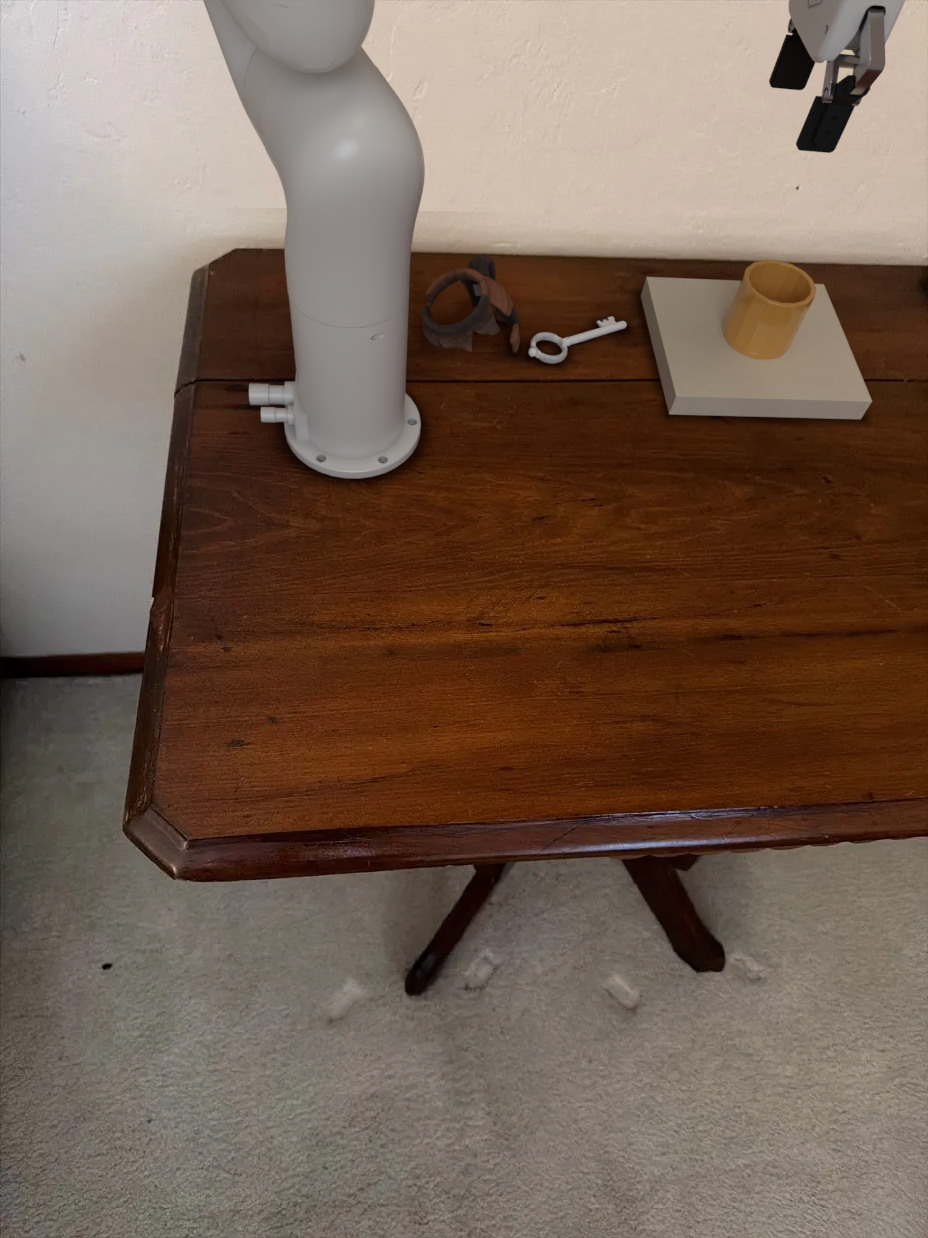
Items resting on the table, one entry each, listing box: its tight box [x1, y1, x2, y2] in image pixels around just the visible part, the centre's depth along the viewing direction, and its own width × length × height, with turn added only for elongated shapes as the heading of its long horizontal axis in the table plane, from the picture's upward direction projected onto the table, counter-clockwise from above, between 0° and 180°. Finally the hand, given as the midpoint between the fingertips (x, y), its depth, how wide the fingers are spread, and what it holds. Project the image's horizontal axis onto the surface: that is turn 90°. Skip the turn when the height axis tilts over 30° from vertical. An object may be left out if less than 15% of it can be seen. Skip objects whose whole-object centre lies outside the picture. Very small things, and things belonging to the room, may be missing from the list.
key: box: [527, 316, 628, 365], centre depth 91 cm, size 12×1×4 cm
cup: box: [723, 259, 816, 359], centre depth 88 cm, size 7×7×6 cm
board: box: [640, 276, 873, 420], centre depth 92 cm, size 20×18×2 cm
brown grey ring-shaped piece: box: [419, 253, 521, 354], centre depth 89 cm, size 12×10×8 cm
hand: (799, 117), depth 74 cm, fingers open, 9 cm apart
